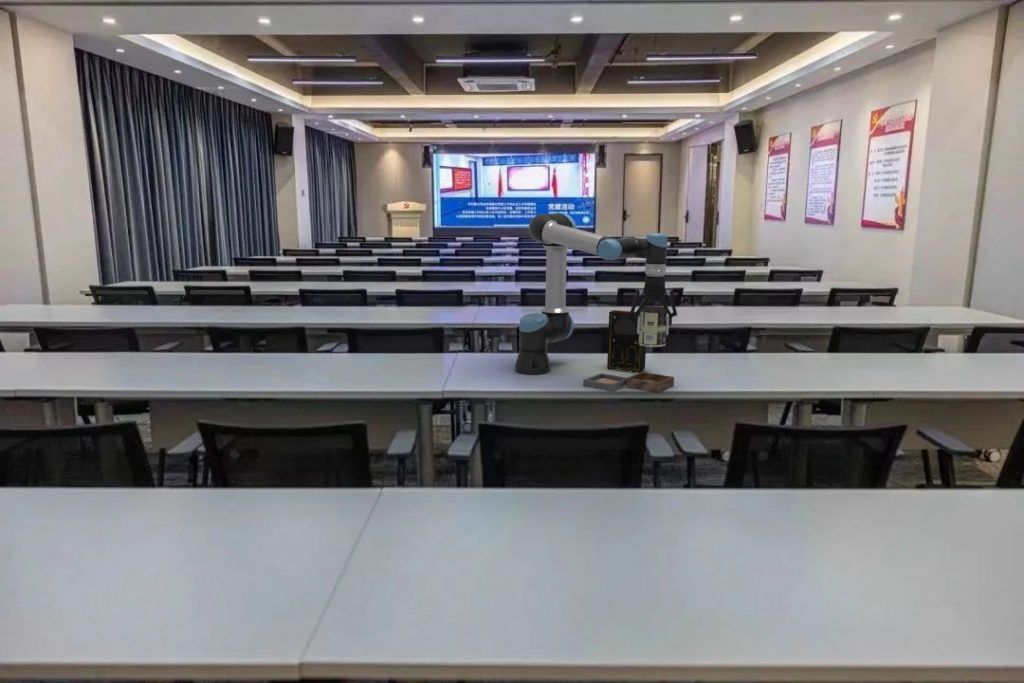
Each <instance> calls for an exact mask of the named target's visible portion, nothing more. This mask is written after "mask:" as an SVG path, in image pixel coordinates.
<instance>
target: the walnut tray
mask: <svg viewBox="0 0 1024 683" xmlns="http://www.w3.org/2000/svg"><path fill="white" fill-rule="evenodd" d="M625 378H626V386H627V387H626V386H625V387H626V388H628V387H632V388H631V389H633V388H637V389H636V390H639V389H641V390H640V391H644V390H645V392H649V393H656V394H660V393H662V392H664V391H666V390H668V389H670V388H671V387H673V386H674V385H675V377H674V376H672V375H671V376H670V375H664V374H661V373H653V372H648V371H642V372H640V373H636V374H633V375H631V376H628V377H625Z"/></svg>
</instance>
